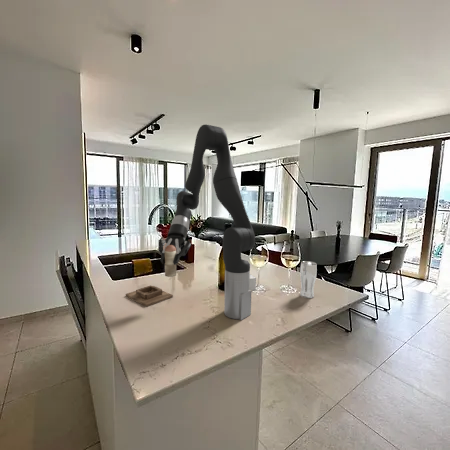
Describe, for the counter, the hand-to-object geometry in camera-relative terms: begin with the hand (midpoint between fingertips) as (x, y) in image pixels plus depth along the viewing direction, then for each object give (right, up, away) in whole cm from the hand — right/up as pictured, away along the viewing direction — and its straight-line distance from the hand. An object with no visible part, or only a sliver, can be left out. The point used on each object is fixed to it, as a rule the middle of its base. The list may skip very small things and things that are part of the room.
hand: (168, 263), depth 100 cm
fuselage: (0, -5, +3) cm, 6 cm away
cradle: (-11, -16, +12) cm, 23 cm away
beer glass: (+59, -17, +16) cm, 63 cm away
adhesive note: (+33, -16, +24) cm, 43 cm away
